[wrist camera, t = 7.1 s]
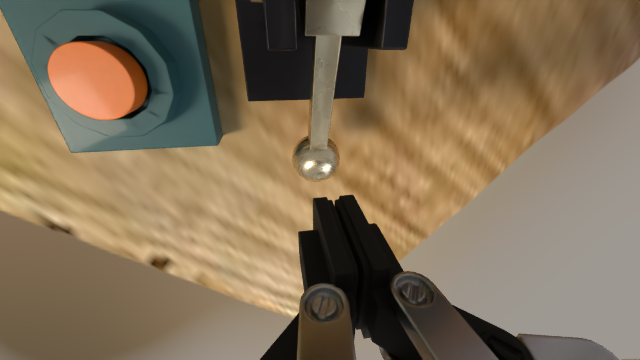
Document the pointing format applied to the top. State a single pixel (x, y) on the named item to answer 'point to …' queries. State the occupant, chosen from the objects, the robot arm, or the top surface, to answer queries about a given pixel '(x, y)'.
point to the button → (97, 79)
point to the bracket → (296, 49)
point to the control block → (150, 53)
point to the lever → (324, 80)
